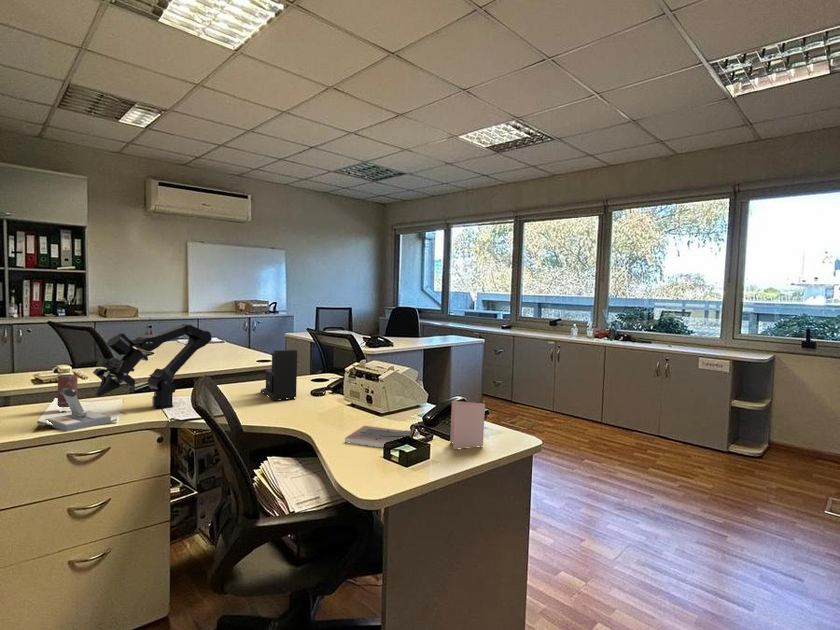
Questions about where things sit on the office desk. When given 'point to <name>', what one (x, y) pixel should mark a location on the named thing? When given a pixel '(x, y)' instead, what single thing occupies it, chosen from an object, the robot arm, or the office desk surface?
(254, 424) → the office desk surface
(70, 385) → the can
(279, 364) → the bookend
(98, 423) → the switch base
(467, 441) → the greeting card
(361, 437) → the pale purple book
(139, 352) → the robot arm
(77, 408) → the toggle lever
